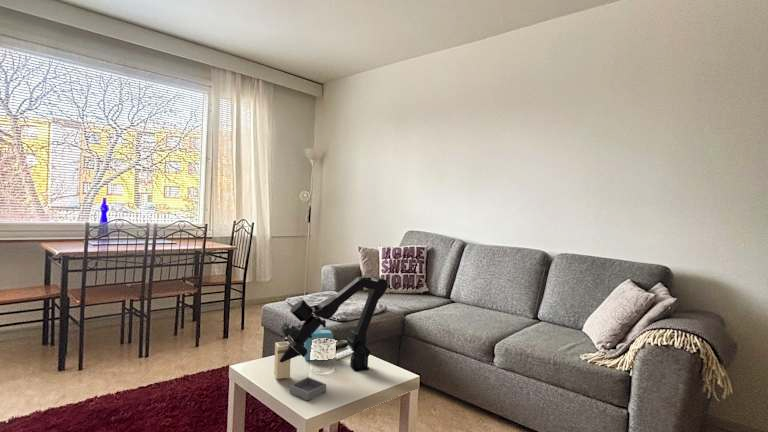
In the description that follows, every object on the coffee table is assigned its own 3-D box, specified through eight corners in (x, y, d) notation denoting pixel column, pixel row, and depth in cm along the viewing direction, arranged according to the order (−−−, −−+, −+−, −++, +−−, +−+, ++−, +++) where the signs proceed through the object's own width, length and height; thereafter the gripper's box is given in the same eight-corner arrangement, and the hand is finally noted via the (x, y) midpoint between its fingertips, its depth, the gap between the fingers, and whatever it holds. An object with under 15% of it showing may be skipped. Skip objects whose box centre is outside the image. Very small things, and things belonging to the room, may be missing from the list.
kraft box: (287, 372, 170) (288, 341, 169) (290, 377, 165) (291, 345, 165) (274, 373, 168) (275, 342, 167) (276, 379, 163) (277, 346, 163)
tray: (307, 384, 162) (308, 377, 162) (325, 392, 157) (326, 384, 157) (289, 393, 154) (289, 385, 154) (308, 401, 149) (308, 392, 149)
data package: (330, 355, 193) (332, 329, 192) (332, 359, 188) (333, 332, 188) (303, 357, 189) (304, 330, 189) (304, 361, 185) (305, 333, 185)
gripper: (288, 309, 176) (260, 338, 171) (300, 322, 159) (269, 355, 155) (306, 326, 179) (279, 355, 175) (319, 340, 163) (290, 373, 158)
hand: (279, 359), depth 166 cm, fingers closed on kraft box, 5 cm apart
